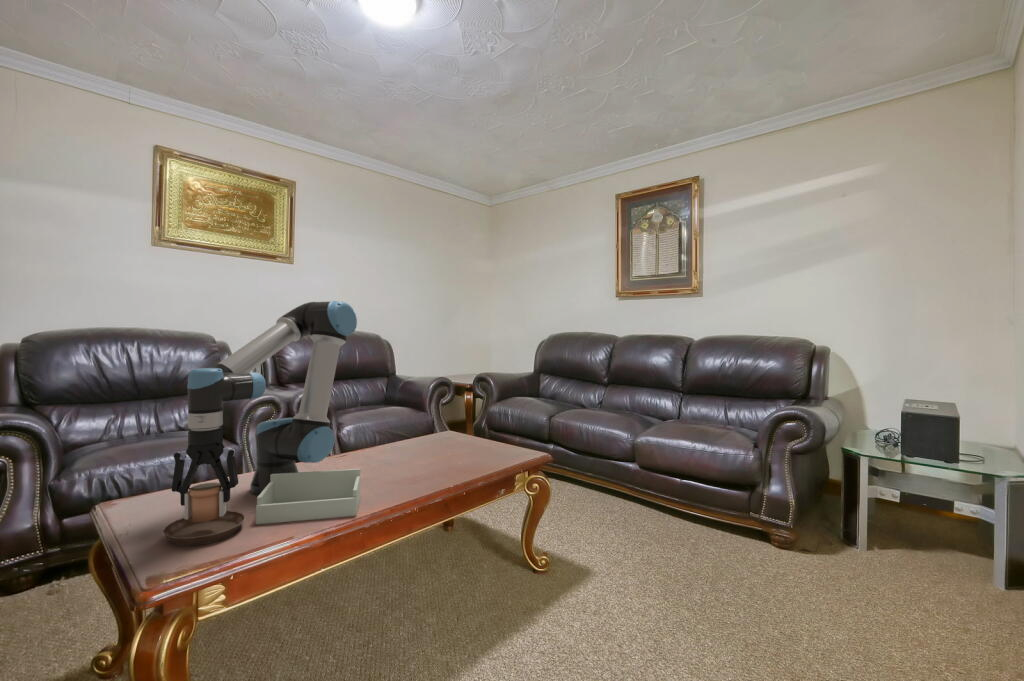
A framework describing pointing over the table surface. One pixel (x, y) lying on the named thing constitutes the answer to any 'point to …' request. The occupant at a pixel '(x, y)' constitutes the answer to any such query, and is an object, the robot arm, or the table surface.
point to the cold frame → (309, 496)
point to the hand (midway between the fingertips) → (205, 515)
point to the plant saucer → (203, 529)
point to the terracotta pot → (205, 501)
